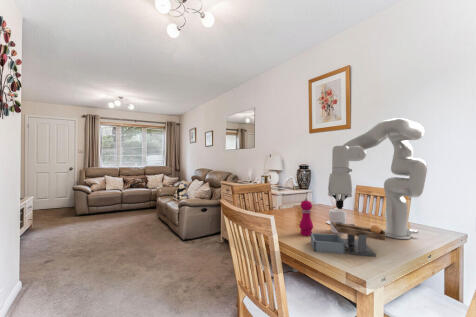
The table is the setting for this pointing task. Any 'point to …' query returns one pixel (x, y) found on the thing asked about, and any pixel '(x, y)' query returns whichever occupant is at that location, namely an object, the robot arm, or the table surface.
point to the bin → (327, 243)
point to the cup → (337, 218)
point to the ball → (376, 229)
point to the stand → (358, 245)
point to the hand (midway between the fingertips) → (339, 208)
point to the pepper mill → (306, 218)
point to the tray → (358, 230)
